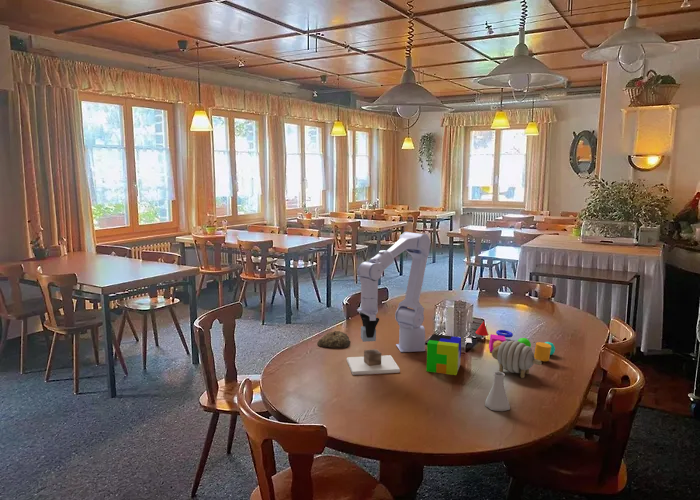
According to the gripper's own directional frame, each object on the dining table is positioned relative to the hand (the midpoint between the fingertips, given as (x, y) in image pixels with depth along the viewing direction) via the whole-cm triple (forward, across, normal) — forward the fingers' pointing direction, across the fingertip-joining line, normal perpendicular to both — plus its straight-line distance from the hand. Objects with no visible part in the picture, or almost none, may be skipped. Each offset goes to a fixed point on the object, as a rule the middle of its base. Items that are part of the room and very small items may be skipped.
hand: (368, 334), depth 183 cm
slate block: (+2, 0, 0) cm, 2 cm away
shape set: (+11, -7, +54) cm, 55 cm away
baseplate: (+10, +3, +1) cm, 11 cm away
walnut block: (+9, +3, +1) cm, 10 cm away
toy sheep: (+11, +15, +47) cm, 50 cm away
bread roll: (+11, -23, -9) cm, 27 cm away
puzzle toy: (+11, +7, +25) cm, 28 cm away
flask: (+11, +37, +31) cm, 50 cm away
